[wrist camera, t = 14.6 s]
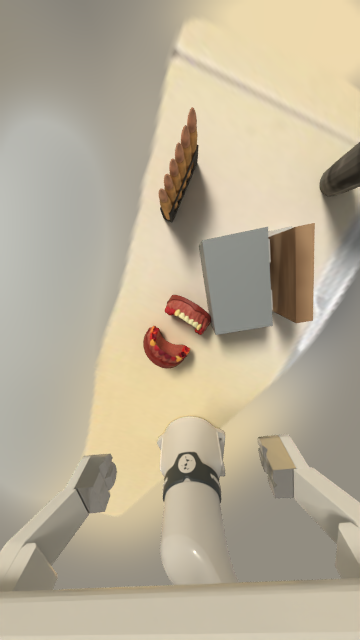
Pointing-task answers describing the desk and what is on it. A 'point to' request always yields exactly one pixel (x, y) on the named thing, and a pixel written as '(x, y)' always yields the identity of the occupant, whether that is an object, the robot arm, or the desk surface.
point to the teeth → (162, 349)
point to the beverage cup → (342, 174)
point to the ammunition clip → (180, 169)
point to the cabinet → (238, 280)
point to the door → (293, 272)
